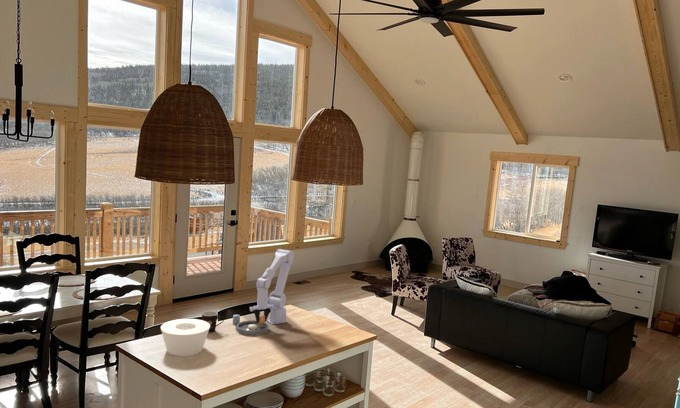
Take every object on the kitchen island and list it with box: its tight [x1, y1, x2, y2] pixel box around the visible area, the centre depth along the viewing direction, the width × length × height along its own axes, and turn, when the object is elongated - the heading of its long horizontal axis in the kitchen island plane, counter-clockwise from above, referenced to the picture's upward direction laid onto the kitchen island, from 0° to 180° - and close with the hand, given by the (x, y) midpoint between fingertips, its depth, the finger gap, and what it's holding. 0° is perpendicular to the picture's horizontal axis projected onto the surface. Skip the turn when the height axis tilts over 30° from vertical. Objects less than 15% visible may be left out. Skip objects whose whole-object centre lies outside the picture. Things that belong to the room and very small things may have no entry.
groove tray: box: [235, 320, 270, 337], centre depth 295 cm, size 18×18×2 cm
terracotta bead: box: [258, 314, 266, 325], centre depth 297 cm, size 4×4×5 cm
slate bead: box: [232, 314, 241, 326], centre depth 303 cm, size 4×4×5 cm
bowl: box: [160, 318, 210, 357], centre depth 261 cm, size 24×24×12 cm
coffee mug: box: [201, 310, 225, 334], centre depth 288 cm, size 12×9×10 cm
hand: (261, 321), depth 297 cm, fingers open, 4 cm apart
